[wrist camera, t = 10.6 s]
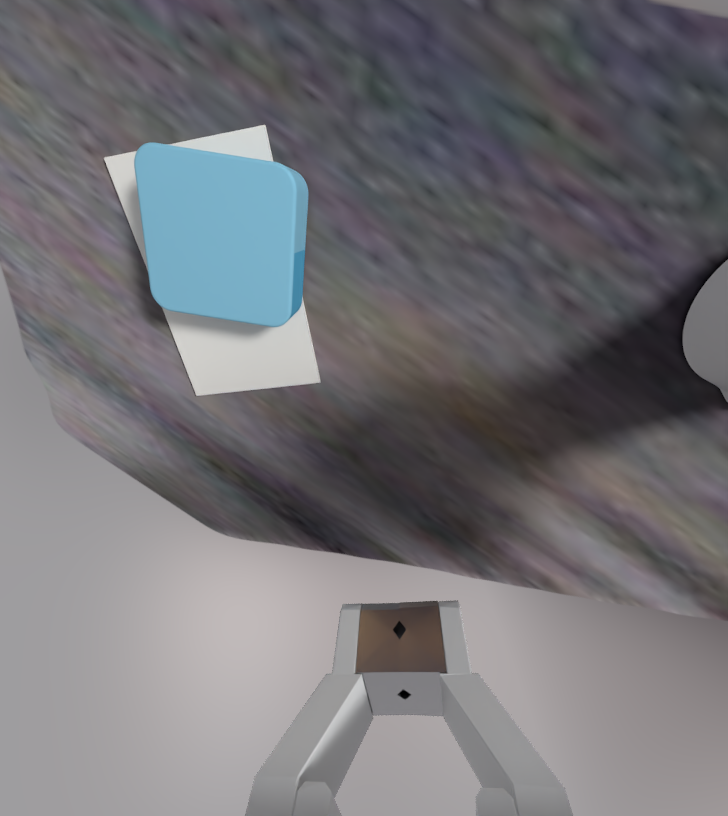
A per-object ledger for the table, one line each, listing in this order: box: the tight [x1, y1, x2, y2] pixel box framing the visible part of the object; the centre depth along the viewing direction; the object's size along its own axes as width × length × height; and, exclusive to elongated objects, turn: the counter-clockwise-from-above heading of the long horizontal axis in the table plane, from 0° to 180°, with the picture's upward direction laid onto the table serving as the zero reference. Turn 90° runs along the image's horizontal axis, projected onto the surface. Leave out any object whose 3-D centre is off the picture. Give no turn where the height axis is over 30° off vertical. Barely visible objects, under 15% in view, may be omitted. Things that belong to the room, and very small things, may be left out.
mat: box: [104, 125, 321, 396], centre depth 34 cm, size 14×22×1 cm, turn 8°
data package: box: [134, 143, 308, 327], centre depth 30 cm, size 12×4×12 cm
